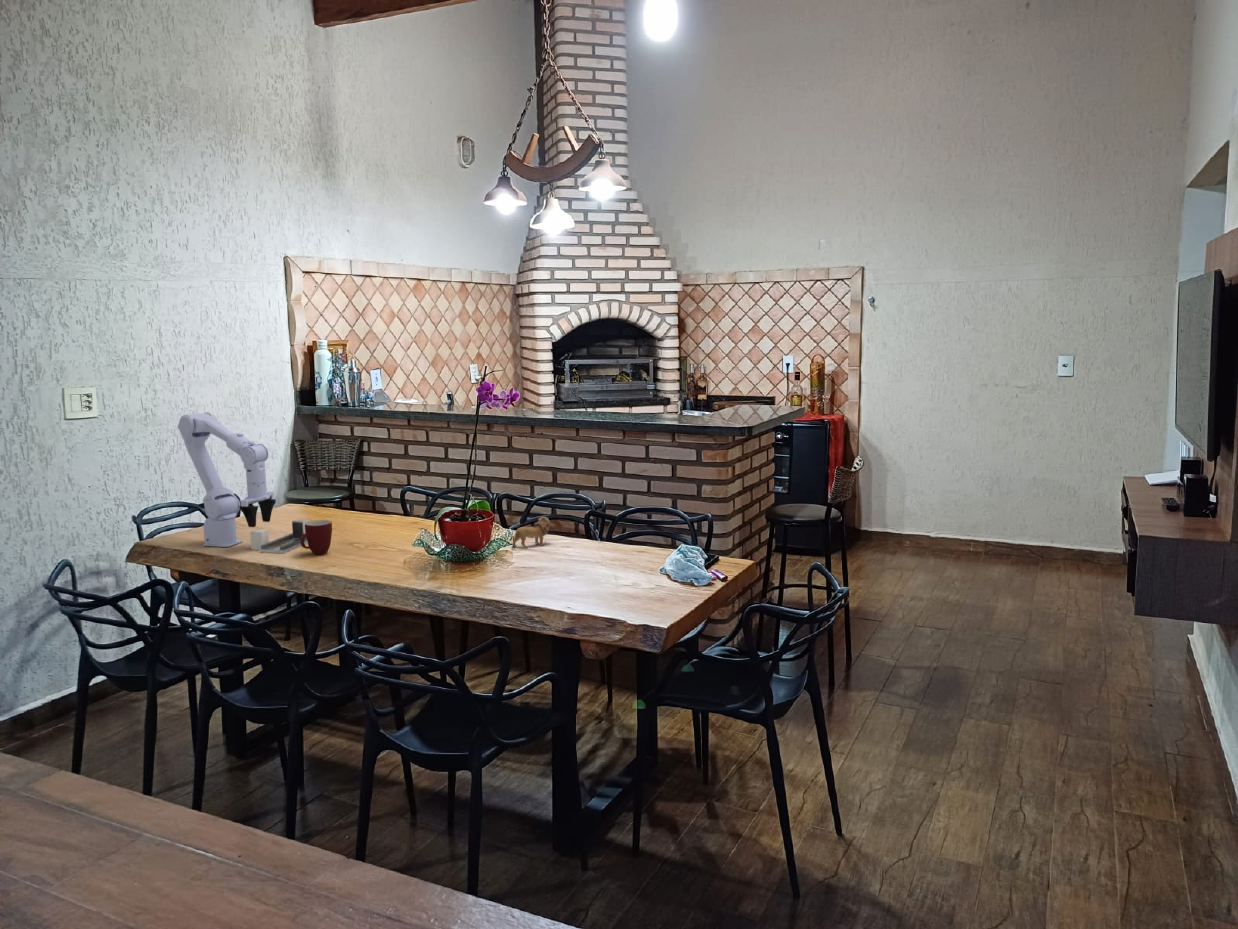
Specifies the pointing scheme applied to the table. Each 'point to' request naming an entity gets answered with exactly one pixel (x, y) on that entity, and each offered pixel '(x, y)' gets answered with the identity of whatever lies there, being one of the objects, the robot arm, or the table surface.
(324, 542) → the mug
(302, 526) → the rail
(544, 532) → the lion figurine
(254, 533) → the white rectangular block
